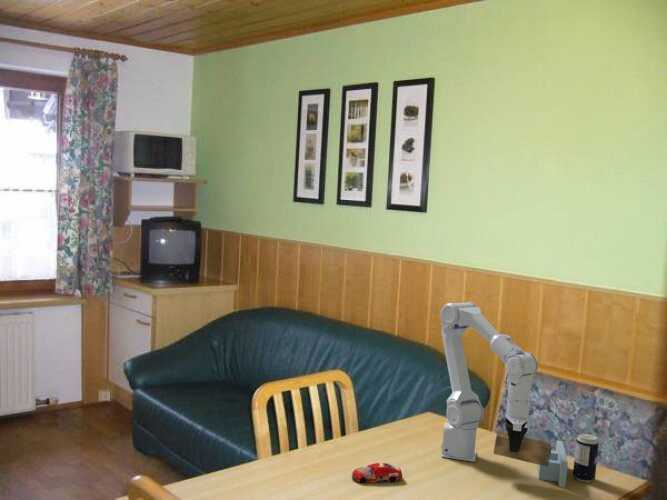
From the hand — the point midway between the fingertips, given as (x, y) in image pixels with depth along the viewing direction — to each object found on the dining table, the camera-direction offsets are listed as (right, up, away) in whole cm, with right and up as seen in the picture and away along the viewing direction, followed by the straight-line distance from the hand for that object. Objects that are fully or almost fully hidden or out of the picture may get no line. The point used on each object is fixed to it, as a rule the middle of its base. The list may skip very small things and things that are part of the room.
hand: (514, 448), depth 186 cm
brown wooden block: (+2, -2, 0) cm, 3 cm away
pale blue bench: (+12, -9, +6) cm, 16 cm away
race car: (-37, -7, -5) cm, 38 cm away
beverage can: (+20, -10, +4) cm, 23 cm away
